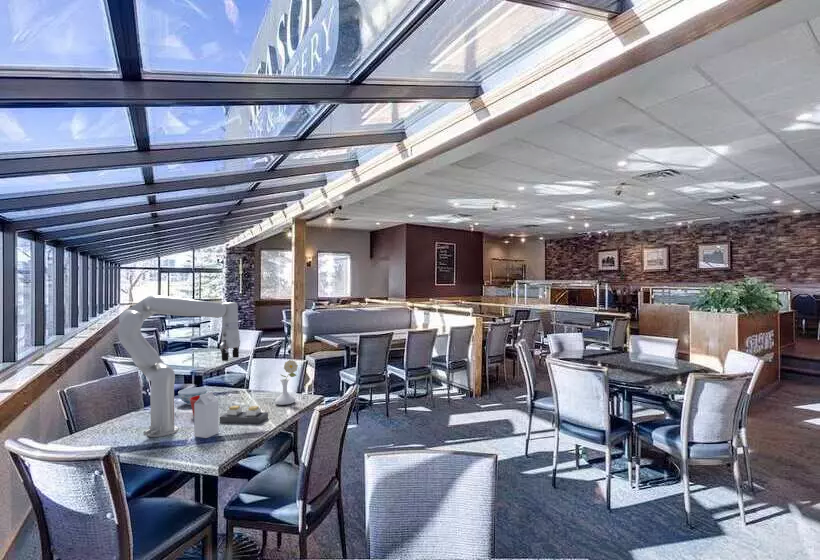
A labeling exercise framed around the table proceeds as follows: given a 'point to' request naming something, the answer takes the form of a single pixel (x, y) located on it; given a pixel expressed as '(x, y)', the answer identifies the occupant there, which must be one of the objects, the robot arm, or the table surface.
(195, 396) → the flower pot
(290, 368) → the flower in vase
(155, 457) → the table surface
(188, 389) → the chinaware
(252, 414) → the grey and tan block
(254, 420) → the dark grey slotted board
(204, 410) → the milk carton
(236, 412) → the tan topped grey block
